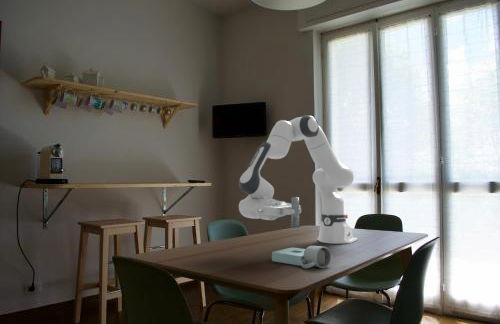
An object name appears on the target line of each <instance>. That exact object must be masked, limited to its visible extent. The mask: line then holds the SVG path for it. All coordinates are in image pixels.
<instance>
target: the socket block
mask: <svg viewBox="0 0 500 324" xmlns="http://www.w3.org/2000/svg"><path fill="white" fill-rule="evenodd" d="M305 249H306V248H301V247H300V248H299V247H294V246H293V247H288V248H283V249H279V250H278V249H277V250H275V251H271V262H276V263H282V264H289V265H294V266H300V267H302V266H301V261H302V260H303V259H304V251H305ZM306 264H308V263H304V264H303V265H306Z"/></svg>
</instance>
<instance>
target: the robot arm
mask: <svg viewBox="0 0 500 324" xmlns="http://www.w3.org/2000/svg"><path fill="white" fill-rule="evenodd" d="M269 133H270V134H269V136H268V138H267V140H266V141H265V142H263V143H261V144H260V145H259V146H258V148H257V149H256V151H255V153H254V155H253V157H252V158H251V160H250V162H249V164H248V165H247V167H246V169H245V170H244V172H242V174H241V175H240V177H239V179H238V186H239V189H240V190H241V191H242V192H243V193H246V194H247V196H246V197H245V198H244V199H241V200H240V201H239V204H238V211H239V213H240V214H241V215H242V217H245V218H247V219H255V220H257V219H261V220H264V221H266V220H267V221H275V220H277V219H279V218H282V217H285V216H288V215H289V216H290V215H292V214H294V213H295V209H292V202H286V201H284V200H278V199H275V198H274V196H275V188H274V186H273V185H272V184H271V183H269V181H267V180H266V179H265V178H264V177H262V176H261V170H262V168H263V166H264V165H265V162H266V161H267V159H271V160H272V159H273V160H279V159H283V158H285V157H286V156H287V154H288V153H289V150H290V148H291V144H292V143H293V142H298V141H299V142H300V141H303V140H304V143H305V145H306V148H307V150H308V152H309V155H310V156H311V159H312V161H313V162H314V164H316V165H318V166H319V168H318V169H316V170H315V171H314V172H313V174H312V181H313V183H314V185H315V186H316V187H317V189H318V191H319V194H320V197H321V208H322V209H321V223H320V225H319V231H318V232H319V233H318V237H317V239H316V240H317V241H319V242H320V243H322V244H323V243H325V244H352V243H353V242H355V241H357V240H358V237H354V236H353V235H354V234H353V229H352V228H351V226H350V225H349V224H348V223H347V220H346V219H348V218H349V217H348V216H349V215H348V214H345V210H344V206H345V205H344V198H343V197H342V196H341V195H340V193H339V191H338V189H342V188H347V187H349V186H351V185H352V183H354V176H355V175H354V172H353V171H352V169H351V168H350V167H348V166H345V164H343V163H342V161H341V160H340V159H339V158H338V157H337V155H336V154H335V153H334V150H333V149H332V146H331V145H330V143H329V139H328V138H327V136H326V133H325V132H324V131H323V129H322V127H321V126H320V125H319V122H318V121H317V119H316V118H315V117H314V116H312V115H303V116H299V117H294V118H293V119H291V120H288V121H287V120H284V119H282V120H281V119H280V120H278V121H276V123H275V125H273V127H272V129H271V131H270V132H269ZM301 213H302V207H301V205H300V204H299V214H301Z"/></svg>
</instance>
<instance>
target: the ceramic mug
mask: <svg viewBox="0 0 500 324" xmlns="http://www.w3.org/2000/svg"><path fill="white" fill-rule="evenodd" d="M304 249H305V251H304V259H303V260H302V261H301V266H300V267H301V268H303V269H310V268H312V267H317V268H321V269H326V268H327V267H329V265H330V264H331V261H332V253H331V250H330V249H329V248H328V247H326V246H321V245H318V246H317V245H309V246H307V247H306V248H304ZM304 263H308V264H306V265H303V264H304Z"/></svg>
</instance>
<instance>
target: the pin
mask: <svg viewBox="0 0 500 324" xmlns="http://www.w3.org/2000/svg"><path fill="white" fill-rule="evenodd" d="M291 204H292V209H295V213H294V214H291V228H292V229H293V228H294V229H296V228H297V229H298V228H300V213H299V205H300V197H299V196H296V197H294V196H292V197H291Z"/></svg>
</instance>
